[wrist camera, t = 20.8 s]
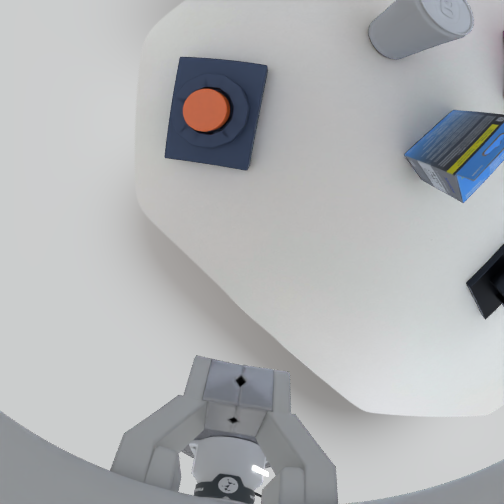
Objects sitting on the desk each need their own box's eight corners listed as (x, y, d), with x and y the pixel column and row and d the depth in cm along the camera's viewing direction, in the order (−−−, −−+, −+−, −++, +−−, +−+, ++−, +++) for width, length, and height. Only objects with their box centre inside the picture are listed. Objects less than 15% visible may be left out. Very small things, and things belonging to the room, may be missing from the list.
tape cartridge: (421, 182, 26) (489, 224, 15) (402, 153, 25) (471, 182, 14) (469, 136, 23) (545, 157, 12) (452, 107, 22) (530, 115, 11)
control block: (249, 167, 28) (245, 174, 24) (171, 154, 27) (157, 160, 24) (268, 69, 23) (266, 61, 19) (186, 60, 23) (173, 53, 19)
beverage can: (410, 27, 19) (472, -4, 8) (408, 66, 21) (476, 48, 10) (367, 13, 19) (415, -34, 8) (365, 52, 21) (418, 19, 10)
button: (226, 133, 23) (222, 134, 21) (185, 128, 23) (179, 128, 21) (233, 93, 21) (230, 91, 20) (192, 88, 21) (186, 86, 20)
